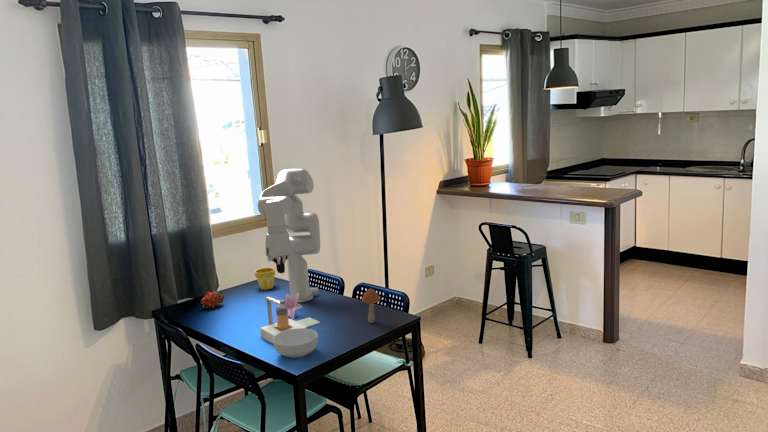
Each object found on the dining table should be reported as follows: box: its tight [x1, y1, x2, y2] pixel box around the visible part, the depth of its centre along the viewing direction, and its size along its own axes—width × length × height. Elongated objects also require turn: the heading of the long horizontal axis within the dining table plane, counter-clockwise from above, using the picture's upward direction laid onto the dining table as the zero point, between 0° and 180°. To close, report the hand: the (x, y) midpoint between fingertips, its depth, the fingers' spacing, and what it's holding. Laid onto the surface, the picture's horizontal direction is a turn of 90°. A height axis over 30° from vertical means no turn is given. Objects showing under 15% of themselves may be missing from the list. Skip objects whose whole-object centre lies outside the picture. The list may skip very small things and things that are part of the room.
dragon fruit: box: [199, 290, 225, 309], centre depth 286 cm, size 8×8×12 cm
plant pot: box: [254, 267, 276, 291], centre depth 311 cm, size 10×10×10 cm
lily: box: [275, 293, 303, 320], centre depth 268 cm, size 12×12×10 cm
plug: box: [275, 307, 289, 331], centre depth 242 cm, size 5×5×12 cm
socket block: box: [259, 300, 308, 345], centre depth 244 cm, size 14×20×13 cm
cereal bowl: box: [273, 328, 319, 359], centre depth 225 cm, size 17×17×7 cm
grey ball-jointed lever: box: [264, 295, 286, 307], centre depth 244 cm, size 14×3×2 cm, turn 38°
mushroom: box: [361, 287, 381, 324], centre depth 252 cm, size 8×8×15 cm
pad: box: [295, 316, 321, 329], centre depth 256 cm, size 9×9×1 cm
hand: (281, 272), depth 247 cm, fingers closed
